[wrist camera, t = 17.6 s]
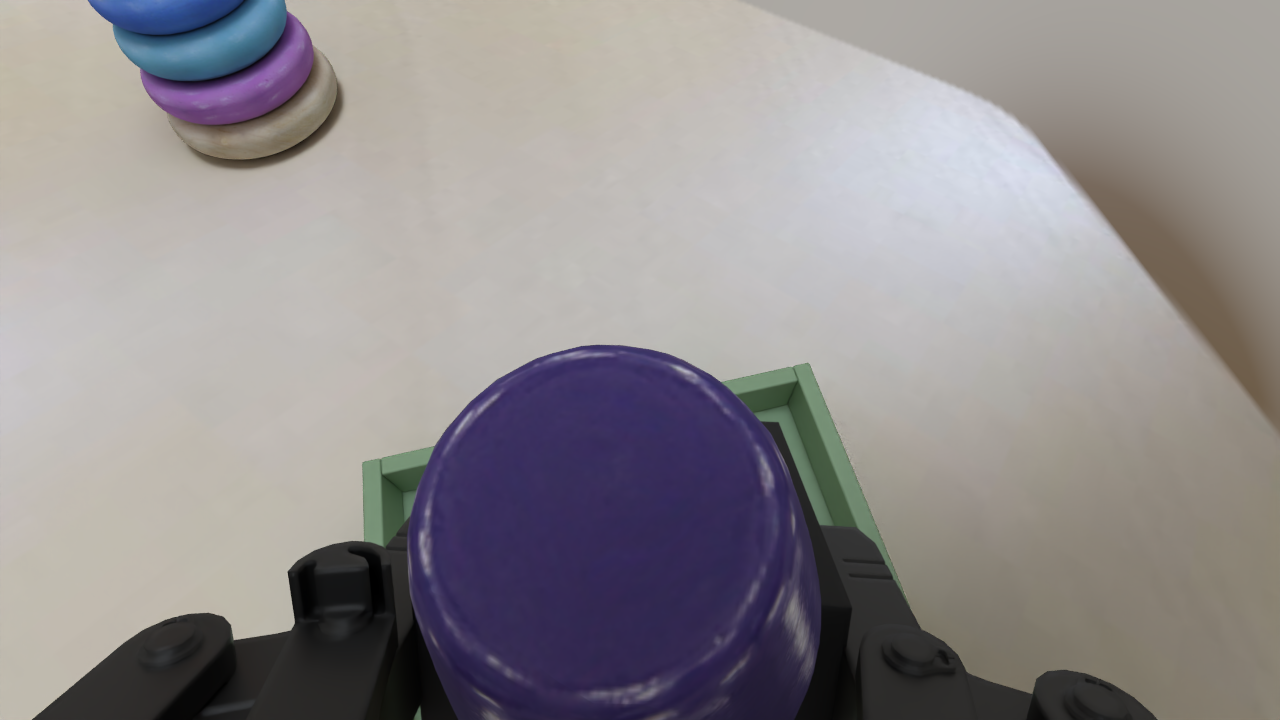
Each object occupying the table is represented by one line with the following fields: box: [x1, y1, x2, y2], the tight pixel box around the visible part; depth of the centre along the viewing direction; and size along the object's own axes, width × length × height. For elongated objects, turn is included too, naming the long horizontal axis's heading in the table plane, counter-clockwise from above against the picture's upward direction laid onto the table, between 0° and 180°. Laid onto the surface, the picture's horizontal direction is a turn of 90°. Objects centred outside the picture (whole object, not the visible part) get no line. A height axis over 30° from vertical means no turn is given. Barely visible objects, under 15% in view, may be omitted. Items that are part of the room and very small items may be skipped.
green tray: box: [362, 363, 910, 720], centre depth 19 cm, size 15×15×2 cm
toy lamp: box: [407, 345, 821, 720], centre depth 12 cm, size 5×5×17 cm
